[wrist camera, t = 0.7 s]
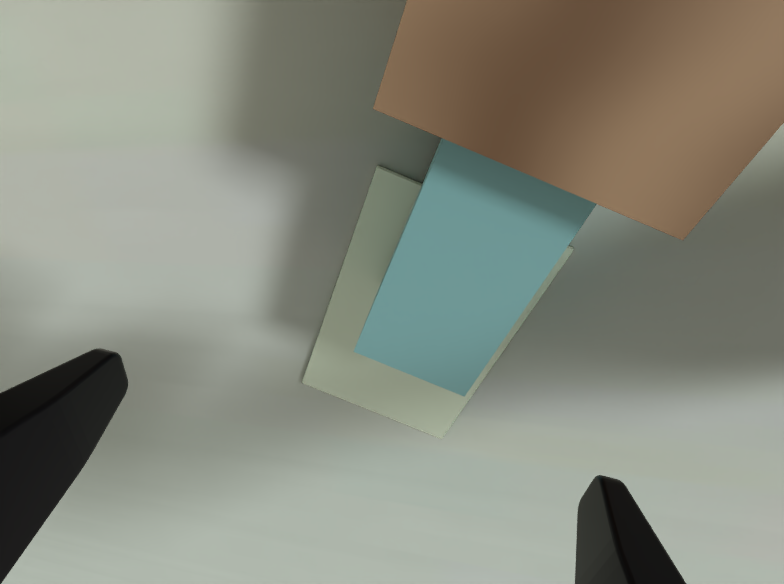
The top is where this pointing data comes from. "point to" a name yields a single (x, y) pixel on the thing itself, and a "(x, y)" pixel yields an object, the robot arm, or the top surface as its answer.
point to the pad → (352, 305)
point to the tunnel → (598, 93)
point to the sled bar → (466, 266)
